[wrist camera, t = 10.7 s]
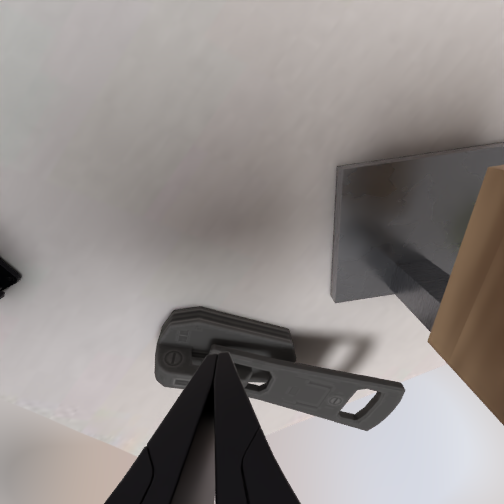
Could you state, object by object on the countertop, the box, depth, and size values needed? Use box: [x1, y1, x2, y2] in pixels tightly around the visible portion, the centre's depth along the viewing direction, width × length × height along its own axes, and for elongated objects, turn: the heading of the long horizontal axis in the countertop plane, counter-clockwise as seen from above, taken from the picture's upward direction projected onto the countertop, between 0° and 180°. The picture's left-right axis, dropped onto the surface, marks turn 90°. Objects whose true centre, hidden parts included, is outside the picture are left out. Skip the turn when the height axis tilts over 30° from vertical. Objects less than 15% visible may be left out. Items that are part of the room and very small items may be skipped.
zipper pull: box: [155, 307, 405, 431], centre depth 26 cm, size 9×7×25 cm
